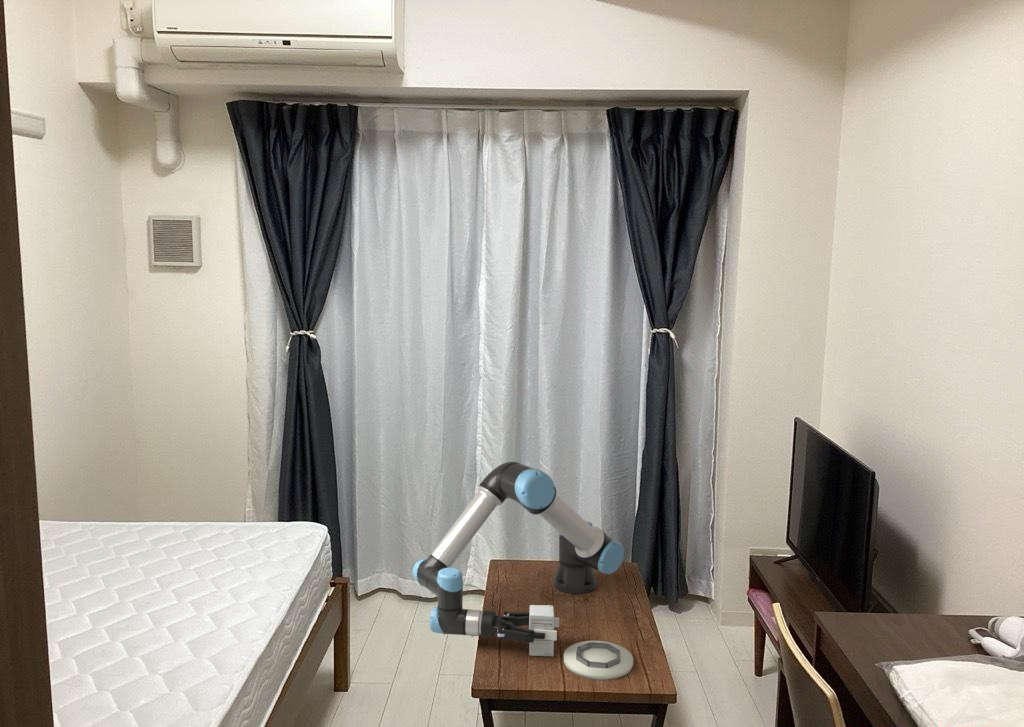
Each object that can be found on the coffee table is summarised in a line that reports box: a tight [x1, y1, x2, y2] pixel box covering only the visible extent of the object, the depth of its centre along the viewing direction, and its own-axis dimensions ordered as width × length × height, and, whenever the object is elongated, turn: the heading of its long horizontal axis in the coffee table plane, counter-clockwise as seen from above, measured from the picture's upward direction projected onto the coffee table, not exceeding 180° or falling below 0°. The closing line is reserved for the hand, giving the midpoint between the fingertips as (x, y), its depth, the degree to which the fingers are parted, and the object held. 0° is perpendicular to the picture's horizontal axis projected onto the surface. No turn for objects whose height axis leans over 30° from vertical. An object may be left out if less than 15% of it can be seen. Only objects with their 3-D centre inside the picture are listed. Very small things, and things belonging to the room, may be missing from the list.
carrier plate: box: [563, 640, 634, 681], centre depth 231 cm, size 20×20×2 cm
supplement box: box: [528, 604, 555, 657], centre depth 236 cm, size 7×7×13 cm
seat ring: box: [576, 642, 620, 668], centre depth 231 cm, size 13×13×1 cm
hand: (557, 628), depth 236 cm, fingers closed on supplement box, 8 cm apart
